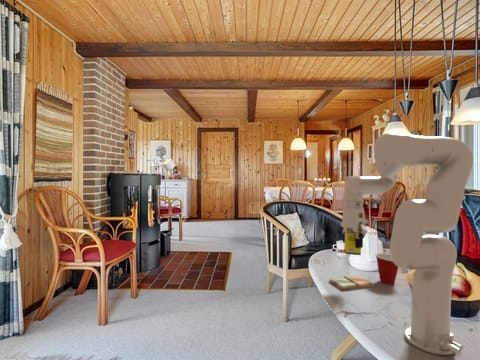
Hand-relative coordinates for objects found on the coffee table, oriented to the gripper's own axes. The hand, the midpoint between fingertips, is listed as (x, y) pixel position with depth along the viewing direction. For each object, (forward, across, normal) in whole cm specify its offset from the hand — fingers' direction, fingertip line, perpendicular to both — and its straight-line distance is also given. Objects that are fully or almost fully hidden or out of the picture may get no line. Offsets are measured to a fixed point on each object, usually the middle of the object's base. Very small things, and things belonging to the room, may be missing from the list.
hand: (352, 244), depth 123 cm
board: (+18, +2, -2) cm, 19 cm away
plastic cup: (+19, +1, -20) cm, 27 cm away
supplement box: (+4, 0, 0) cm, 4 cm away
